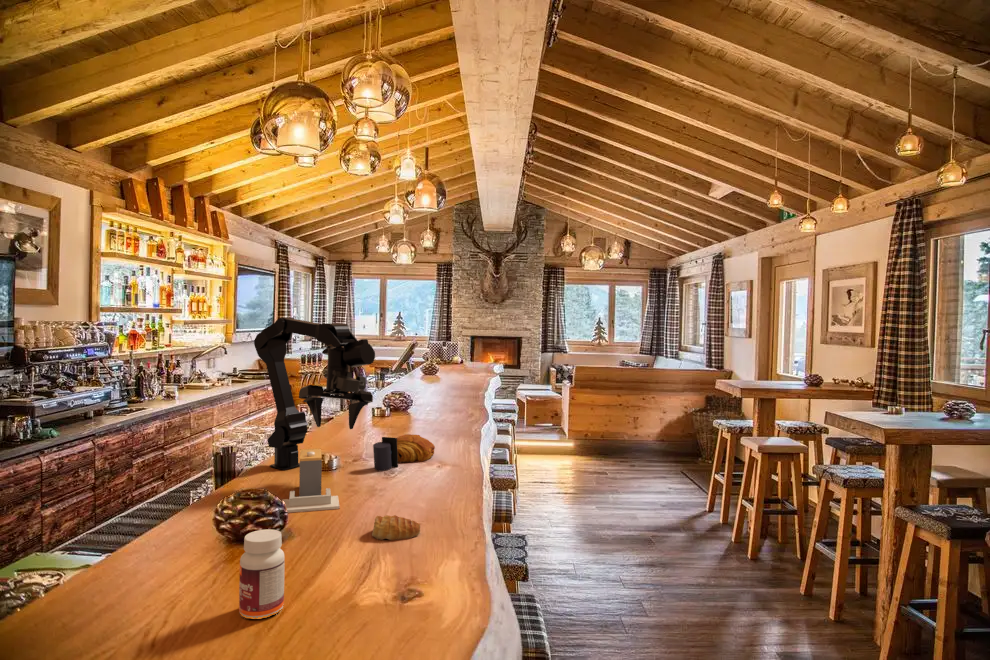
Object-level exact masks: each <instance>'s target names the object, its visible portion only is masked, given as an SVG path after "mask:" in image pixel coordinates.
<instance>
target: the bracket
mask: <svg viewBox="0 0 990 660" xmlns="http://www.w3.org/2000/svg"><path fill="white" fill-rule="evenodd" d="M331 492H332V491H331V488H330V487H329V488H327V487H326V488H325V494H321V495H316V496H302V497H299V496H295V495H296V491H295V490H290V491H289V498H285V499H282V500H283V501H284V502H285V504H286V508H287V511H288V513H291V514H292V513H301V512H302V513H304V512H314V511H315V512H316V511H329V510H338V509H340V501H339V495H332V493H331ZM288 513H287V514H288Z"/></svg>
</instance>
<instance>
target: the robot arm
mask: <svg viewBox="0 0 990 660" xmlns="http://www.w3.org/2000/svg"><path fill="white" fill-rule="evenodd" d="M293 334H295V335H300V336H306V337H311V338H315V339H316V341H317V342H319V343H322V344H323V345H326V346H327V347H326V348H325V349H323V350H322V351H321V353H322V354H323V355H326V356H327V368H326V370H327V371H326V373H324V378H326V385H325V387H326V388H324V387H323V385H315V384H308V385H305V386H302V387H301V388H300V390H299V391H298V399H301V400H303V403H306V405H307V406H308V409H309V410H310V413H311V414H312V417H313V420H314V422H315V425H316V427H317V428H320V427H321V426H322V409H323V408H322V405H323V403H324V399H325V398H328V399H336V400H337V399H338V400H347V401H349V402H350V404H348V427H349V428H348V429H349V430H353V429H354V427H355V424H356V422H357V419H358V416H359V414H360V412H361V411H362V409H363V408H364V407H366V406H368V405H369V403H373V402H374V401H373V400H374V399H373V398H374V396H373V394H372V392H371V391H365V389H366V386H367V383H366V382H367V377H366V376H361V375H357V376H356V378H355V377H354V378H353V373H352V372H351V371H350V367H351V368H355V367H361V366H368V365H371V364H373V363H374V361H375V359H376V352H375V350H374V347H373V346H372V345H371V344H370V343H369V339H367V338H362V339H357V337H356V336H355V335H354V334H353V333H352V332H351V330H350V328H349V325H348V324H347V323H341V322H340V323H335V322H334V323H319V322H318V323H317V322H313V321H308V320H304V319H297V318H294V317H279V318H278V319H277V320H275V321H274V322H273V323H272V324H271V325H268V326H267V327H265V328H264V329H262V330H261V332H259V333H257V335H256V337H255V338H254V341H253V346H254V348H255V351H256V354H257V356H258V357H259V358H260V360H262V361H263V363H264V364H265V366H266V370H267V373H268V379H269V383H270V387H271V391H272V394H273V399H274V403H275V407H276V412H277V413H276V416H275V418H274V423H273V424H274V425H273V426H274V431H273V432H272V433H271V435H270V436H269V437H268V438H267V444H268V447H269V448H274V462H273V463H272V464H269V468H273V469H278V470H283V471H287V470H290V469H294V468H300V462H299V445H301V444H304V441H305V438H306V434H307V433H308V426H309V423H308V422H307V417H306V413H305V412H304V411H299V410H298V409H297V408H296V405H295V400H294V396H293V391H292V389H291V385H290V380H289V375H288V372H287V368H286V364H285V358H286V355H287V352H288V348H287V344H288V343H289V342H290V341H291V340H292V337H293Z"/></svg>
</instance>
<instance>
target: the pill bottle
mask: <svg viewBox="0 0 990 660" xmlns="http://www.w3.org/2000/svg"><path fill="white" fill-rule="evenodd" d="M282 539H283V538H282V532H281V531H280V530H276V529H269V528H268V529H258V530H255V531H252V532H249V533H247V534H246V535H245V536H244V539H243V541H244V542H243V550H244V553H243V554H242V555H241V556H240V559H239V582H238V583H239V584H238V585H239V592H238V593H239V595H238V596H239V597H238V599H239V600H238V602H239V603H238V605H239V606H238V608H239V610H238V611H239V614H240V613H241V614H242V615H243V616H246V617H253V618H255V617H256V618H258V617H263V616H268V615H270V614H273V613H276V612H278V611H279V610H281V609H282V610H283V608H284V606H283V605H285V563H286V562H285V552H284V551H283V549H281V547H282V544H283V542H282ZM282 610H281V611H282Z"/></svg>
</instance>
